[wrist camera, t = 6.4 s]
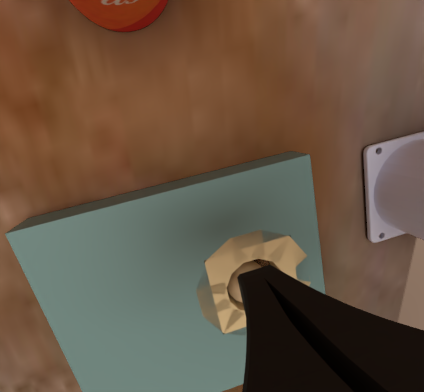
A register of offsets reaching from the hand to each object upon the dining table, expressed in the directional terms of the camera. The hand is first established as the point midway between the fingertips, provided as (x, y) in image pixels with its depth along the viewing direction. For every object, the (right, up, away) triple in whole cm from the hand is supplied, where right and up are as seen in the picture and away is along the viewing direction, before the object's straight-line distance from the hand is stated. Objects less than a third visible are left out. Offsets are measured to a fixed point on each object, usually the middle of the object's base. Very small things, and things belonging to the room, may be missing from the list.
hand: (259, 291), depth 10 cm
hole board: (-3, -3, +10) cm, 11 cm away
